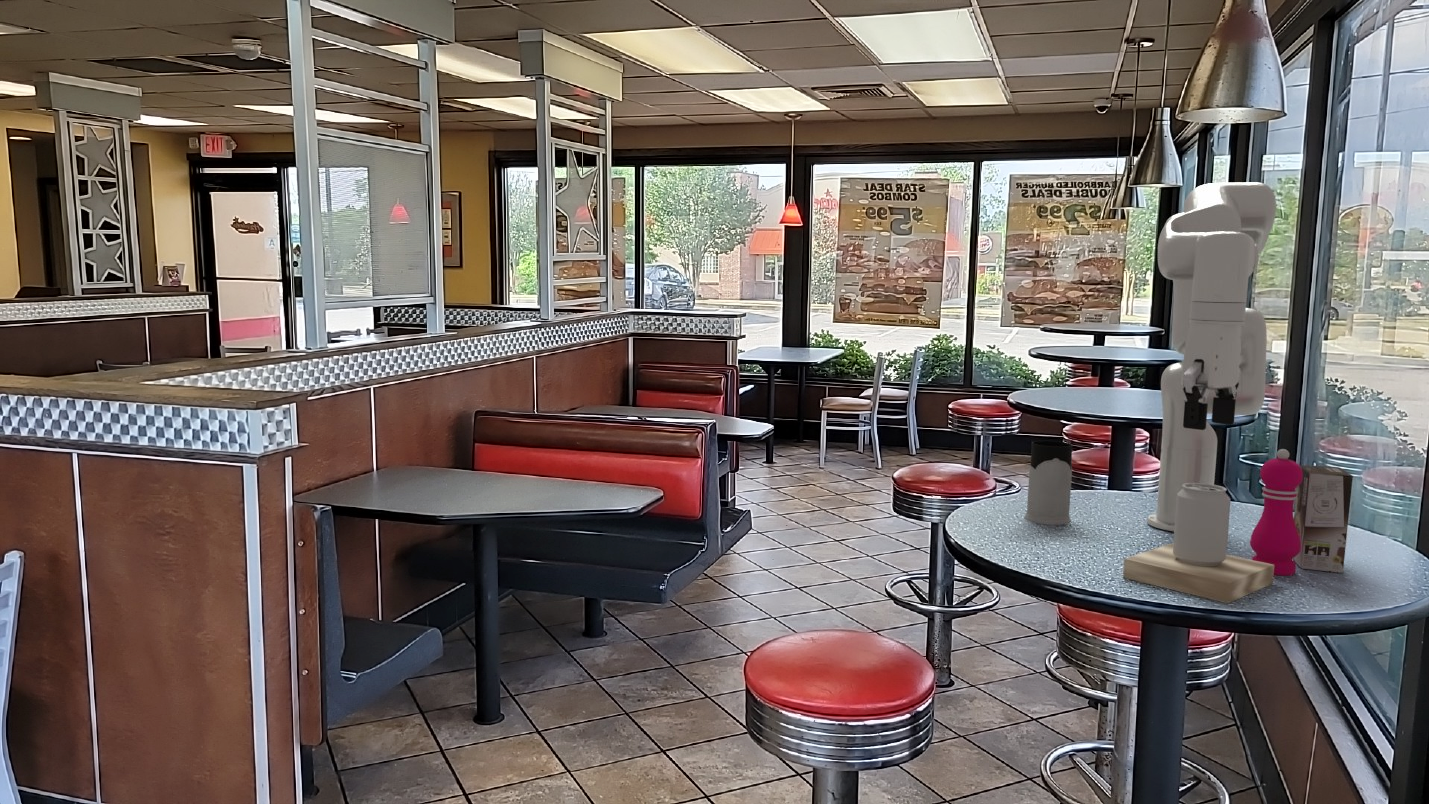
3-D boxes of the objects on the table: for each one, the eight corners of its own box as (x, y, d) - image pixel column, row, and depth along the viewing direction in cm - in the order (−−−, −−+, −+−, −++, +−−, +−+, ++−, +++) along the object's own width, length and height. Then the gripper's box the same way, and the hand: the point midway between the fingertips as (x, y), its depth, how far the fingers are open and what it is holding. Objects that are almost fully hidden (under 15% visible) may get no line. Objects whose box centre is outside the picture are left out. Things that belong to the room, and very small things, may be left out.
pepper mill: (1239, 563, 168) (1249, 444, 165) (1283, 564, 167) (1294, 446, 165) (1261, 576, 160) (1272, 452, 158) (1307, 577, 160) (1319, 453, 158)
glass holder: (1029, 523, 193) (1033, 446, 191) (1014, 507, 207) (1018, 435, 205) (1076, 525, 192) (1081, 448, 190) (1058, 509, 206) (1063, 436, 204)
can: (1231, 569, 153) (1237, 491, 151) (1178, 565, 154) (1184, 488, 153) (1217, 556, 160) (1223, 482, 159) (1167, 553, 162) (1172, 479, 160)
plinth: (1170, 560, 168) (1172, 543, 168) (1272, 583, 156) (1274, 564, 156) (1122, 577, 158) (1124, 558, 158) (1228, 603, 146) (1229, 583, 146)
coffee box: (1345, 573, 163) (1354, 475, 161) (1299, 569, 165) (1308, 472, 163) (1332, 559, 171) (1341, 466, 169) (1289, 555, 173) (1297, 463, 171)
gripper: (1217, 312, 161) (1208, 418, 163) (1166, 314, 150) (1157, 427, 152) (1266, 314, 155) (1257, 424, 158) (1217, 316, 144) (1208, 434, 146)
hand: (1208, 426), depth 155 cm, fingers open, 9 cm apart
